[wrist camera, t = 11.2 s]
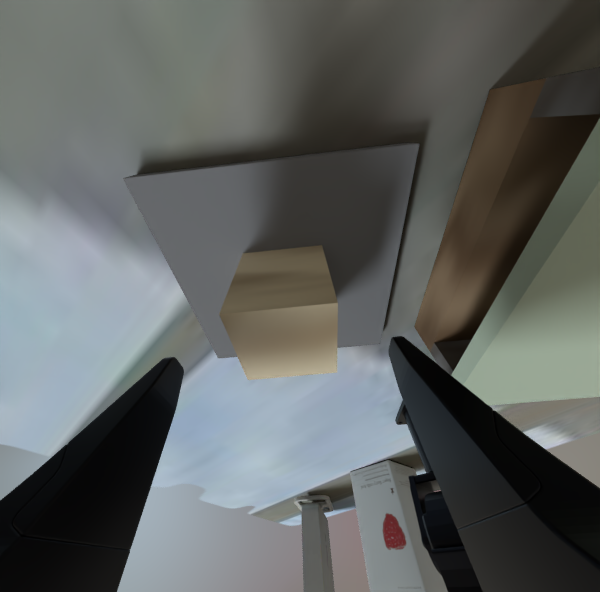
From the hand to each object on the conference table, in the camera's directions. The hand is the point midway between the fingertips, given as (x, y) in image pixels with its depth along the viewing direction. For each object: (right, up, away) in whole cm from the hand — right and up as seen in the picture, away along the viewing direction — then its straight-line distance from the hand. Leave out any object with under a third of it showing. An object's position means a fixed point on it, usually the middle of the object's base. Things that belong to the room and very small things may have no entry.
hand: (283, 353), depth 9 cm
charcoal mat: (0, +4, +5) cm, 6 cm away
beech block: (0, +3, +4) cm, 5 cm away
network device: (+5, -53, +49) cm, 72 cm away
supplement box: (+16, -31, +32) cm, 47 cm away
